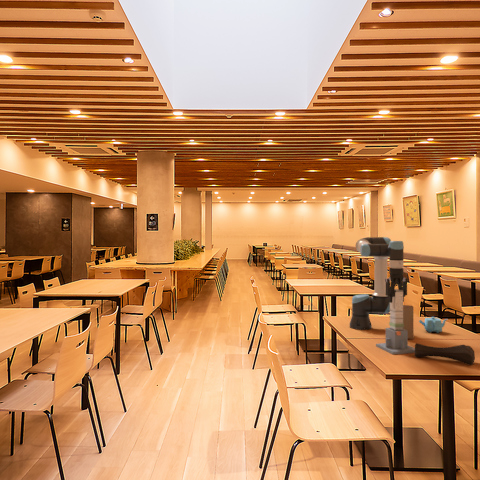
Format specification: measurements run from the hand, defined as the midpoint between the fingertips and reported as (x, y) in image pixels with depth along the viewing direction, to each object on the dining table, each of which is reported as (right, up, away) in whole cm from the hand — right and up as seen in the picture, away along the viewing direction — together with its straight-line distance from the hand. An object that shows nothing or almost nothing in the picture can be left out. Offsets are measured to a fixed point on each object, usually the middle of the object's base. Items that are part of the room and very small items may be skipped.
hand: (396, 307), depth 214 cm
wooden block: (+17, -24, +26) cm, 39 cm away
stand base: (0, -24, 0) cm, 24 cm away
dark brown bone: (+17, -24, -20) cm, 35 cm away
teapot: (+42, -24, +40) cm, 63 cm away
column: (0, -16, 0) cm, 16 cm away
